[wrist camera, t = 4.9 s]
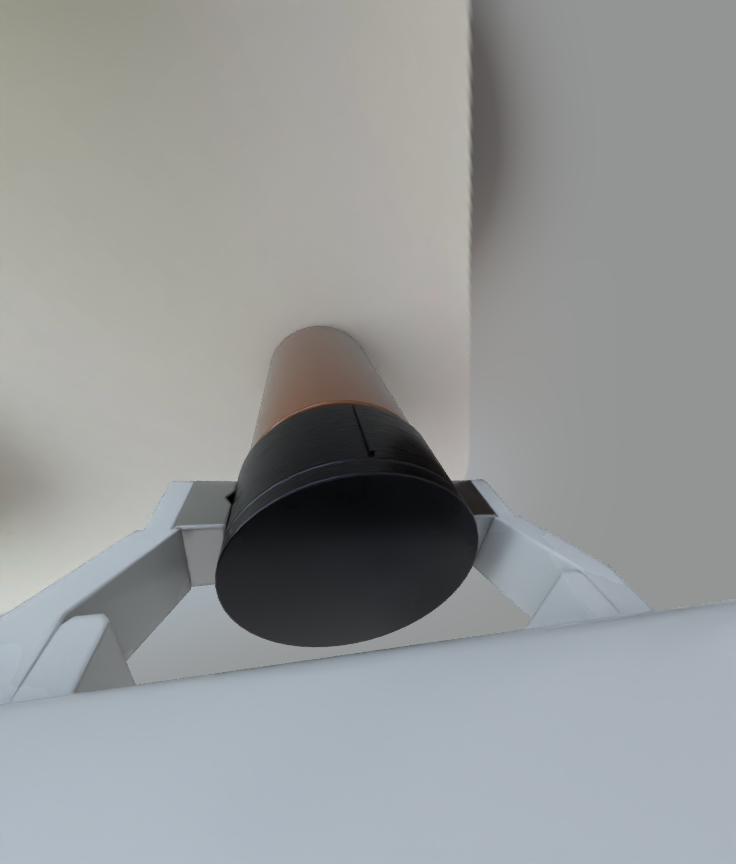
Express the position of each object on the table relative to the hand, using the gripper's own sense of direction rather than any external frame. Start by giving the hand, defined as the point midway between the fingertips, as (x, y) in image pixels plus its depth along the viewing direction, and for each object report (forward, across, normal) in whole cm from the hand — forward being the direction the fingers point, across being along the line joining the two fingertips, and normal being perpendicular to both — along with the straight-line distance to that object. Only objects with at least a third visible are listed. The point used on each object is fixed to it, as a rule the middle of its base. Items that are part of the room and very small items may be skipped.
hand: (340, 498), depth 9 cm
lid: (-2, 0, 0) cm, 2 cm away
